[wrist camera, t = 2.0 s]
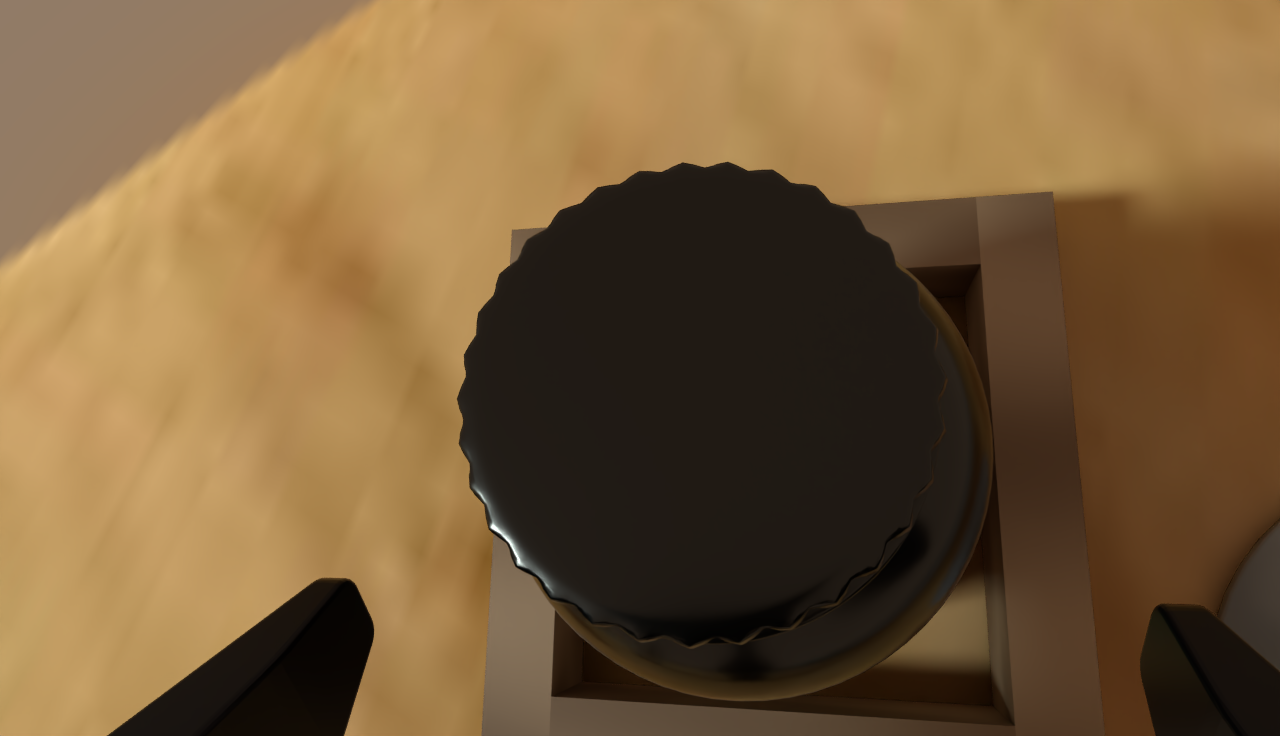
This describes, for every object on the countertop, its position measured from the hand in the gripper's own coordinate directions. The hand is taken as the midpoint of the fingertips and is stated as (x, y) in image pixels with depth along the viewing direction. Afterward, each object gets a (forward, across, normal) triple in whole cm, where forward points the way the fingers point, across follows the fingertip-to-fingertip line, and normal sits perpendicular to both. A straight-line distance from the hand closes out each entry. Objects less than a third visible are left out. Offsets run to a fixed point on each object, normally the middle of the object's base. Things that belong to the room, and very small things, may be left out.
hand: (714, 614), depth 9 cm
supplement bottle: (+9, 0, +6) cm, 10 cm away
